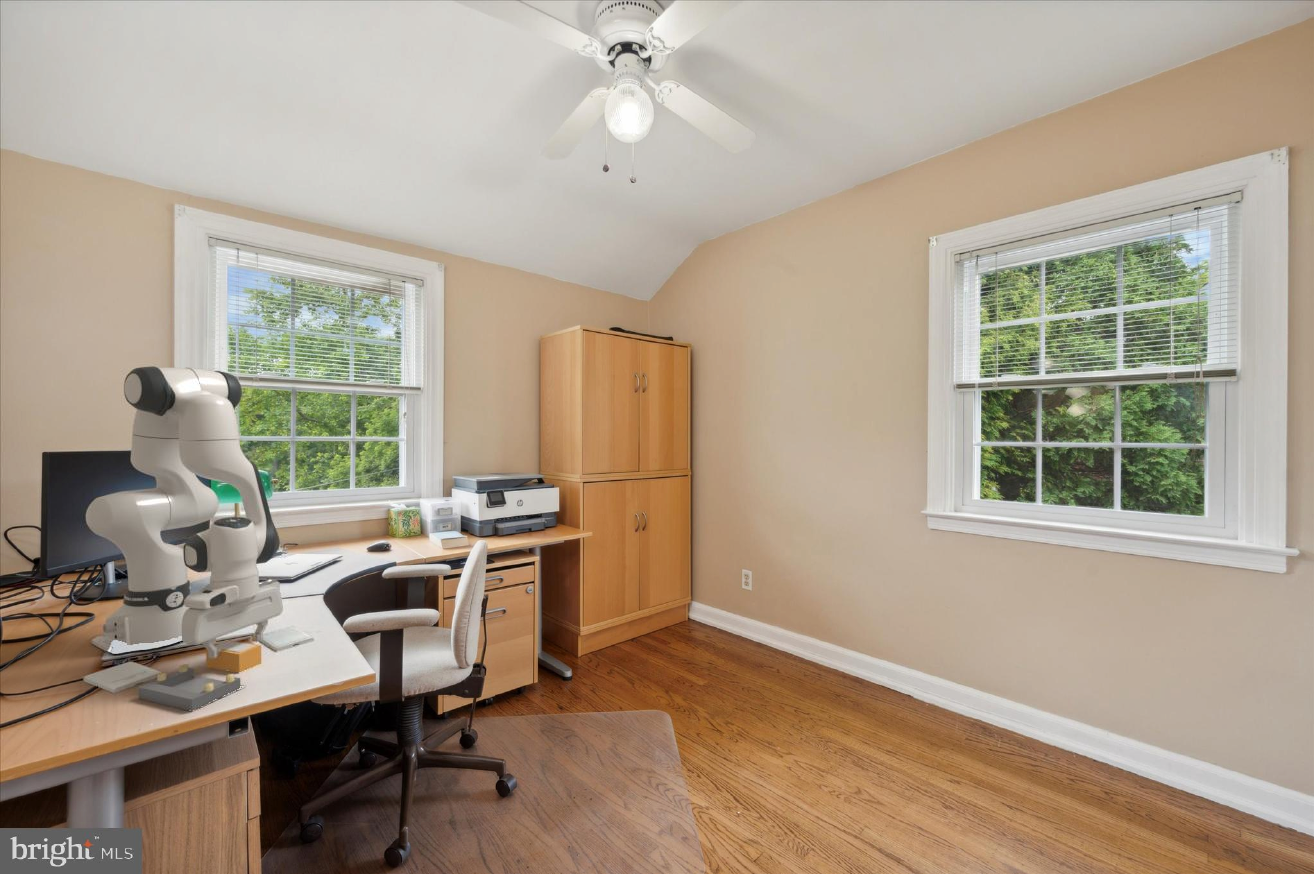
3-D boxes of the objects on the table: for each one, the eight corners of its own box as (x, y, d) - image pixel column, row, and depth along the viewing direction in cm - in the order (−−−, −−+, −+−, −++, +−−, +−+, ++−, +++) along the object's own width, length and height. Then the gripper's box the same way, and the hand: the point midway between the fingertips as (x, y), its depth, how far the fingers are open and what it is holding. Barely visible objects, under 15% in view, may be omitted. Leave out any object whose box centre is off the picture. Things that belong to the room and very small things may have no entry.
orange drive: (206, 668, 122) (206, 648, 122) (229, 658, 127) (228, 639, 127) (239, 674, 119) (239, 653, 119) (261, 664, 124) (261, 644, 124)
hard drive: (257, 635, 137) (276, 647, 130) (293, 625, 144) (313, 636, 137) (257, 642, 138) (277, 654, 130) (293, 631, 144) (314, 643, 137)
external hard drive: (132, 667, 123) (162, 678, 118) (83, 683, 115) (113, 696, 110) (132, 660, 123) (162, 671, 118) (83, 676, 115) (113, 688, 110)
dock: (138, 698, 108) (138, 681, 108) (194, 676, 118) (193, 660, 118) (192, 711, 104) (192, 693, 104) (245, 687, 113) (245, 670, 113)
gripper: (269, 575, 134) (270, 630, 134) (175, 601, 114) (177, 666, 114) (288, 577, 132) (290, 632, 132) (196, 604, 112) (198, 669, 112)
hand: (237, 648), depth 123 cm, fingers open, 8 cm apart
